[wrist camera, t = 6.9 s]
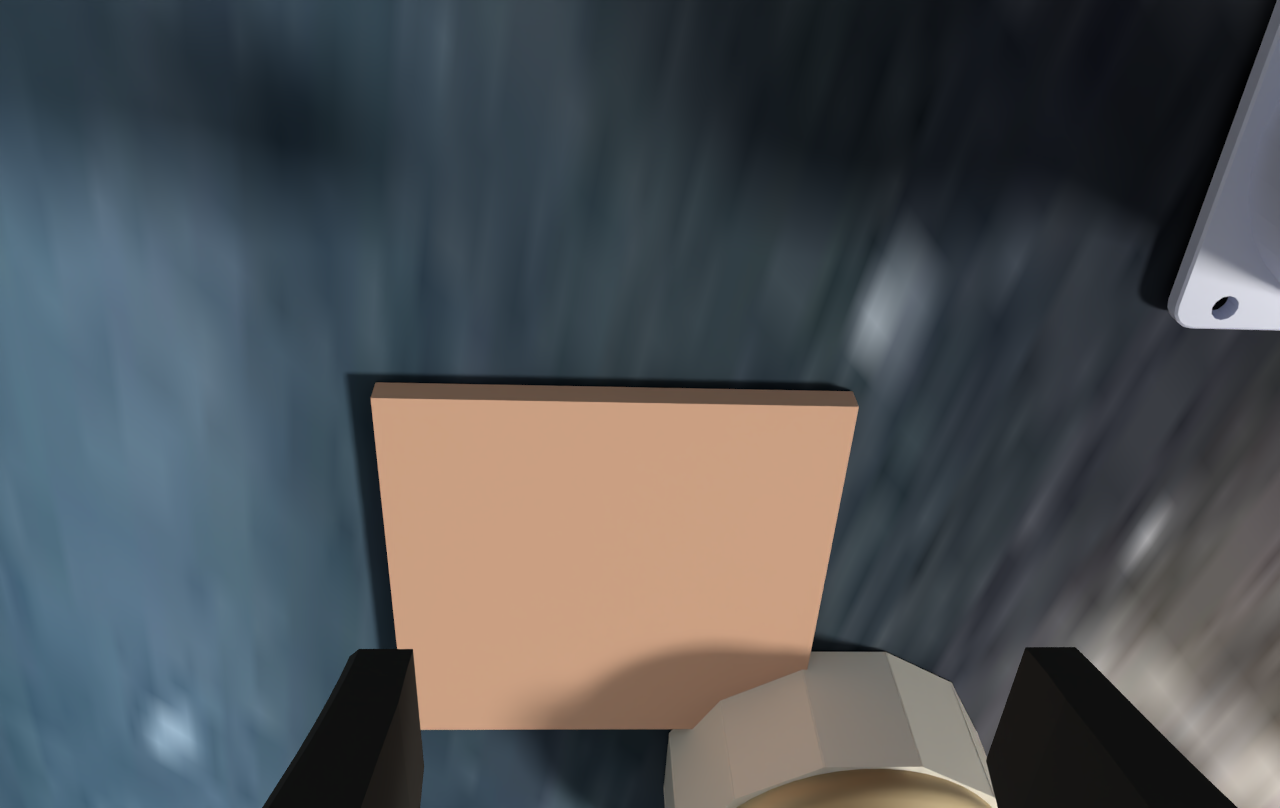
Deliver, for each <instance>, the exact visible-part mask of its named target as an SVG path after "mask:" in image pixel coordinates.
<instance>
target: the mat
mask: <svg viewBox="0 0 1280 808" xmlns="http://www.w3.org/2000/svg"><path fill="white" fill-rule="evenodd" d="M371 407H372V416H373V426H374V435H375V445H376V454H377V463H378V473H379V482H380V492H381V501H382V511H383V520H384V529H385V539H386V548H387V558H388V567H389V577H390V586H391V595H392V605H393V614H394V624H395V633H396V643H397V649H413V655H414V665H415V676H416V687H417V697H418V708H419V718H420V729H421V730H534V729H693V728H694V727H695V726H696V725H697V724H698V723H699V722H700V721H701V720H702V719H703V718H704V717H705V716H706V715H707V714H708V713H709V712H710V711H711V710H712V709H713V707H714V706H715V705H716V704H717V703H718V702H719V701H720V700H723V699H726V698H728V697H731V696H734V695H736V694H739V693H742V692H744V691H747V690H750V689H752V688H755V687H758V686H760V685H763V684H766V683H768V682H771V681H773V680H776V679H779V678H781V677H784V676H787V675H789V674H792V673H795V672H797V671H800V670H807V669H808V663H809V658H810V653H811V648H812V643H813V638H814V633H815V628H816V623H817V617H818V612H819V607H820V602H821V597H822V592H823V587H824V582H825V577H826V571H827V566H828V561H829V556H830V551H831V546H832V541H833V536H834V531H835V525H836V520H837V515H838V510H839V505H840V500H841V495H842V490H843V485H844V479H845V474H846V469H847V464H848V459H849V454H850V449H851V444H852V439H853V433H854V428H855V423H856V418H857V413H858V408H859V406H858V404H857V401H856V399H855V396H854V394H853V391H807V390H754V389H701V388H648V387H596V386H543V385H490V384H437V383H385V382H375V386H374V389H373V392H372V395H371Z"/></svg>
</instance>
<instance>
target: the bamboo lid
mask: <svg viewBox="0 0 1280 808" xmlns="http://www.w3.org/2000/svg"><path fill="white" fill-rule="evenodd" d="M737 808H992V807H991V806H990V805H989V804H988V803H987V802H986V801H984V800H983V799H982V798H981V797H980V796H978V795H977V794H975V793H973V792H972V791H970V790H968V789H967V788H965V787H963V786H961V785H958V784H956V783H953V782H951V781H949V780H946V779H943V778H939V777H936V776H932V775H929V774H924V773H918V772H912V771H907V770H894V769H856V770H846V771H837V772H831V773H826V774H820V775H815V776H811V777H807V778H804V779H800V780H796V781H793V782H790V783H787V784H784V785H782V786H779V787H776V788H773V789H771V790H769V791H767V792H764V793H762V794H760V795H758V796H756V797H754V798H752V799H750V800H748V801H747V802H745V803H743V804H742V805H740V806H738V807H737Z"/></svg>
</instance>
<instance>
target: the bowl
mask: <svg viewBox="0 0 1280 808" xmlns="http://www.w3.org/2000/svg"><path fill="white" fill-rule="evenodd" d="M986 759H987V757H986V754H985V752H984V749H983V746H982V744H981V741H980V739H979V736H978V734H977V732H976V730H975V728H974V726H973V724H972V722H971V720H970V718H969V716H968V714H967V713H966V711H965V709H964V707H963V705H962V703H961V701H960V699H959V697H958V695H957V693H956V691H955V689H954V687H953V684H952V683H951V682H949V681H947V680H945V679H943V678H940V677H938V676H936V675H934V674H932V673H930V672H928V671H925V670H923V669H921V668H919V667H917V666H915V665H913V664H910V663H908V662H906V661H904V660H902V659H900V658H898V657H896V656H893V655H891V654H889V653H887V652H811V653H810V658H809V663H808V669H807V670H800V671H797V672H795V673H792V674H789V675H787V676H784V677H781V678H779V679H776V680H773V681H771V682H768V683H766V684H763V685H760V686H758V687H755V688H752V689H750V690H747V691H744V692H742V693H739V694H736V695H734V696H731V697H728V698H726V699H723V700H720V701H719V702H718V703H717V704H716V705H715V706H714V707H713V709H712V710H711V711H710V712H709V713H708V714H707V715H706V716H705V717H704V718H703V719H702V720H701V721H700V722H699V723H698V724H697V725H696V726H695V727H694V728H693V729H673V730H672V731H671V732H669V740H668V750H667V760H666V770H665V780H664V786H663V787H664V800H665V808H737V807H738V806H740V805H742V804H743V803H745V802H747V801H748V800H750V799H752V798H754V797H756V796H758V795H760V794H762V793H764V792H767V791H769V790H771V789H773V788H776V787H779V786H782V785H784V784H787V783H790V782H793V781H796V780H800V779H804V778H807V777H811V776H815V775H820V774H826V773H831V772H837V771H846V770H856V769H894V770H907V771H912V772H918V773H924V774H929V775H932V776H936V777H939V778H943V779H946V780H949V781H951V782H953V783H956V784H958V785H961V786H963V787H965V788H967V789H968V790H970V791H972V792H973V793H975V794H977V795H978V796H980V797H981V798H982V799H983V800H984V801H986V802H987V803H988V804H989V805H990V806H991V807H992V808H998V807H997V803H996V799H995V795H994V791H993V787H992V783H991V779H990V775H989V771H988V767H987V763H986Z"/></svg>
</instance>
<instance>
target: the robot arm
mask: <svg viewBox="0 0 1280 808" xmlns="http://www.w3.org/2000/svg"><path fill="white" fill-rule="evenodd" d="M1223 297H1228V300H1227V301H1226V303H1225V304H1224V305H1223V306H1222V307H1220V308H1219V309H1216V310H1212V307H1213V306H1214V304H1215V303H1216V302H1217V301H1218V300H1220V299H1221V298H1223ZM1167 308H1168V311H1169V313H1170V315H1171V316H1172V317H1173V318H1174V319H1175V320H1176V321H1177V322H1178V323H1179V324H1180V325H1182V326H1183V327H1187V328H1198V329H1240V330H1280V0H1277V2H1276V4H1275V7H1274V10H1273V13H1272V15H1271V18H1270V21H1269V24H1268V26H1267V29H1266V32H1265V35H1264V37H1263V40H1262V43H1261V46H1260V48H1259V51H1258V54H1257V57H1256V59H1255V62H1254V65H1253V68H1252V70H1251V73H1250V76H1249V79H1248V81H1247V84H1246V87H1245V90H1244V92H1243V95H1242V98H1241V101H1240V103H1239V106H1238V109H1237V112H1236V114H1235V117H1234V120H1233V123H1232V125H1231V128H1230V131H1229V134H1228V136H1227V139H1226V142H1225V145H1224V148H1223V150H1222V153H1221V156H1220V159H1219V161H1218V164H1217V167H1216V170H1215V172H1214V175H1213V178H1212V181H1211V183H1210V186H1209V189H1208V192H1207V194H1206V197H1205V200H1204V203H1203V205H1202V208H1201V211H1200V214H1199V216H1198V219H1197V222H1196V225H1195V227H1194V230H1193V233H1192V236H1191V238H1190V241H1189V244H1188V247H1187V249H1186V252H1185V255H1184V258H1183V260H1182V263H1181V266H1180V269H1179V271H1178V274H1177V277H1176V280H1175V282H1174V285H1173V288H1172V291H1171V293H1170V296H1169V299H1168V306H1167ZM986 763H987V767H988V771H989V775H990V779H991V783H992V787H993V791H994V795H995V799H996V803H997V807H998V808H1237V807H1236V806H1235V805H1234V804H1233V803H1232V802H1231V801H1230V800H1229V799H1228V798H1227V797H1226V796H1225V795H1224V794H1223V793H1222V792H1220V791H1219V790H1218V789H1217V788H1216V787H1215V786H1214V785H1213V784H1212V783H1211V782H1210V781H1209V780H1208V779H1207V778H1206V777H1205V776H1204V775H1203V774H1202V773H1201V772H1200V771H1199V770H1198V769H1197V768H1196V767H1195V766H1194V765H1192V764H1191V763H1190V762H1189V761H1188V760H1187V759H1186V758H1185V757H1184V756H1183V755H1182V754H1181V753H1180V752H1179V751H1178V750H1177V749H1176V748H1175V747H1174V746H1173V745H1172V744H1171V743H1170V742H1169V741H1168V740H1167V739H1166V738H1165V737H1164V736H1163V735H1162V734H1161V733H1160V732H1159V731H1158V730H1157V729H1156V728H1155V727H1154V726H1153V725H1152V724H1151V723H1150V722H1149V721H1148V720H1147V719H1146V718H1145V717H1144V716H1143V715H1142V714H1141V713H1140V712H1139V711H1138V710H1137V709H1136V708H1135V707H1134V706H1133V705H1132V704H1131V703H1130V701H1129V700H1128V699H1127V698H1126V697H1125V696H1124V695H1123V694H1122V693H1121V692H1120V691H1119V690H1118V689H1117V688H1116V687H1115V686H1114V685H1113V684H1112V683H1111V682H1110V681H1109V680H1108V679H1107V678H1106V677H1105V676H1104V675H1103V674H1102V673H1101V672H1100V671H1099V670H1098V669H1097V668H1096V667H1095V666H1094V665H1093V664H1092V663H1091V662H1090V661H1089V660H1088V659H1087V658H1086V657H1085V656H1084V655H1083V654H1082V653H1081V652H1080V651H1079V650H1078V649H1076V648H1075V647H1026V648H1025V651H1024V653H1023V656H1022V659H1021V662H1020V665H1019V668H1018V671H1017V673H1016V676H1015V679H1014V682H1013V685H1012V688H1011V691H1010V693H1009V696H1008V699H1007V702H1006V705H1005V708H1004V711H1003V714H1002V716H1001V719H1000V722H999V725H998V728H997V731H996V734H995V736H994V739H993V742H992V745H991V748H990V751H989V754H988V756H987V759H986ZM423 772H424V761H423V750H422V740H421V729H420V718H419V708H418V697H417V687H416V676H415V665H414V655H413V649H359V650H357V651H356V652H355V653H354V654H352V655H351V656H350V657H349V659H348V661H347V663H346V665H345V668H344V670H343V672H342V674H341V676H340V678H339V680H338V682H337V684H336V685H335V687H334V689H333V691H332V693H331V695H330V697H329V699H328V701H327V702H326V704H325V706H324V708H323V710H322V711H321V713H320V715H319V717H318V718H317V720H316V722H315V724H314V725H313V727H312V729H311V730H310V732H309V734H308V736H307V737H306V739H305V741H304V742H303V744H302V746H301V747H300V749H299V751H298V752H297V754H296V756H295V757H294V759H293V760H292V762H291V764H290V765H289V767H288V768H287V770H286V771H285V773H284V775H283V776H282V778H281V779H280V781H279V782H278V784H277V785H276V787H275V789H274V790H273V792H272V793H271V795H270V796H269V798H268V800H267V801H266V803H265V804H264V806H263V807H262V808H420V802H421V792H422V782H423Z"/></svg>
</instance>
